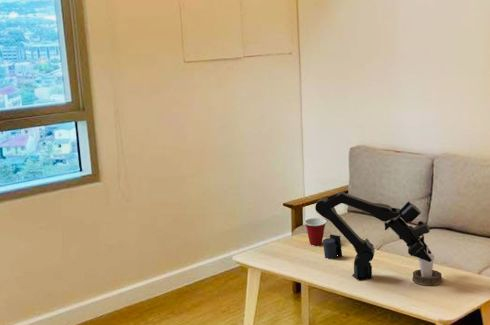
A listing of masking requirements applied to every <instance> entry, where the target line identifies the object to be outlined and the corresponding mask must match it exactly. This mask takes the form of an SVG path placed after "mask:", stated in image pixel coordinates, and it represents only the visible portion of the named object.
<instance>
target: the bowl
mask: <svg viewBox="0 0 490 325" xmlns="http://www.w3.org/2000/svg"><path fill="white" fill-rule="evenodd" d="M412 282H413V283H414V284H416V285H420V286H423V287H425V286H426V287H434V286H440V285H441V284H442V283H443V276H442V272H440V271H438V270H434V269H432V278H426V277H422V276H421V269H416V270H414V271H412Z"/></svg>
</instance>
